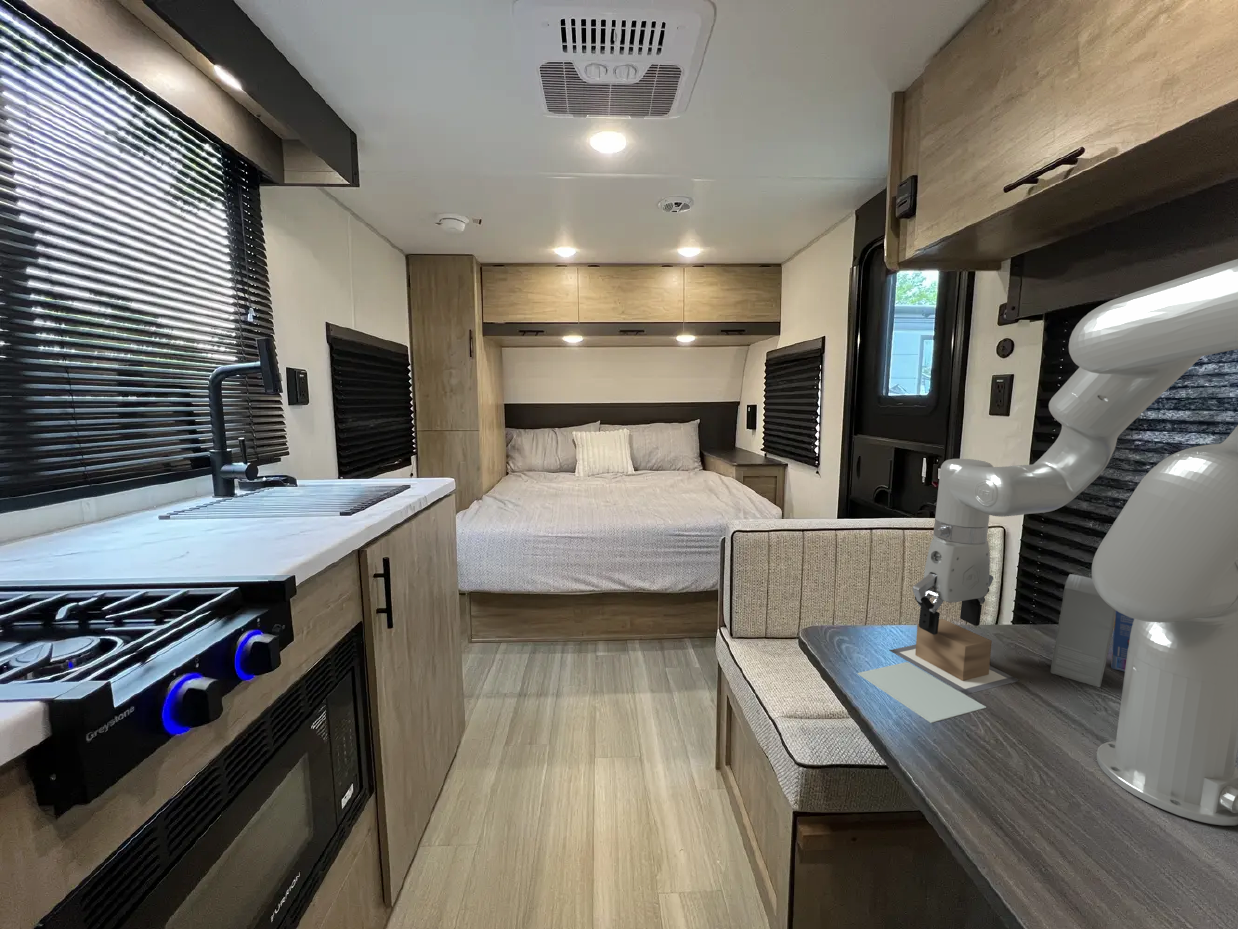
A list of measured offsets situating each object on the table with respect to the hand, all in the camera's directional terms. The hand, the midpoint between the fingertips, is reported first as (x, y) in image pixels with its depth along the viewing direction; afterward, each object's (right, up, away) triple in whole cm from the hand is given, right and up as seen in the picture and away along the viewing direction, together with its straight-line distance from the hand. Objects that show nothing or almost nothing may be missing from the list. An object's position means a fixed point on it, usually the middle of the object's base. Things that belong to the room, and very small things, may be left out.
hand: (948, 626), depth 89 cm
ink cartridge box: (+32, -7, 0) cm, 33 cm away
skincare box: (+20, -7, -3) cm, 22 cm away
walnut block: (0, -7, 0) cm, 7 cm away
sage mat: (-10, -8, -7) cm, 15 cm away
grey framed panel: (0, -7, 0) cm, 7 cm away
